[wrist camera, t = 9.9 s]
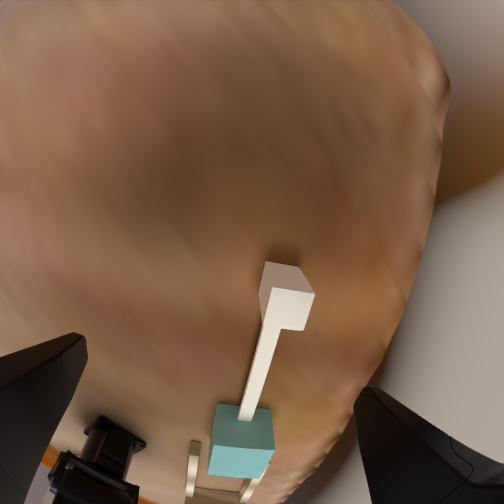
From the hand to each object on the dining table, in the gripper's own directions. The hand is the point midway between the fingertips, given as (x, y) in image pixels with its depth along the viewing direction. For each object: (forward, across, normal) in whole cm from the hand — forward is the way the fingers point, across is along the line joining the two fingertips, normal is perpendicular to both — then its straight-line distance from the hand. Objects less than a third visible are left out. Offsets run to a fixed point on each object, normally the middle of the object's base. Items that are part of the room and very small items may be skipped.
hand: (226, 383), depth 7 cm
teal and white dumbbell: (+12, -4, +10) cm, 16 cm away
